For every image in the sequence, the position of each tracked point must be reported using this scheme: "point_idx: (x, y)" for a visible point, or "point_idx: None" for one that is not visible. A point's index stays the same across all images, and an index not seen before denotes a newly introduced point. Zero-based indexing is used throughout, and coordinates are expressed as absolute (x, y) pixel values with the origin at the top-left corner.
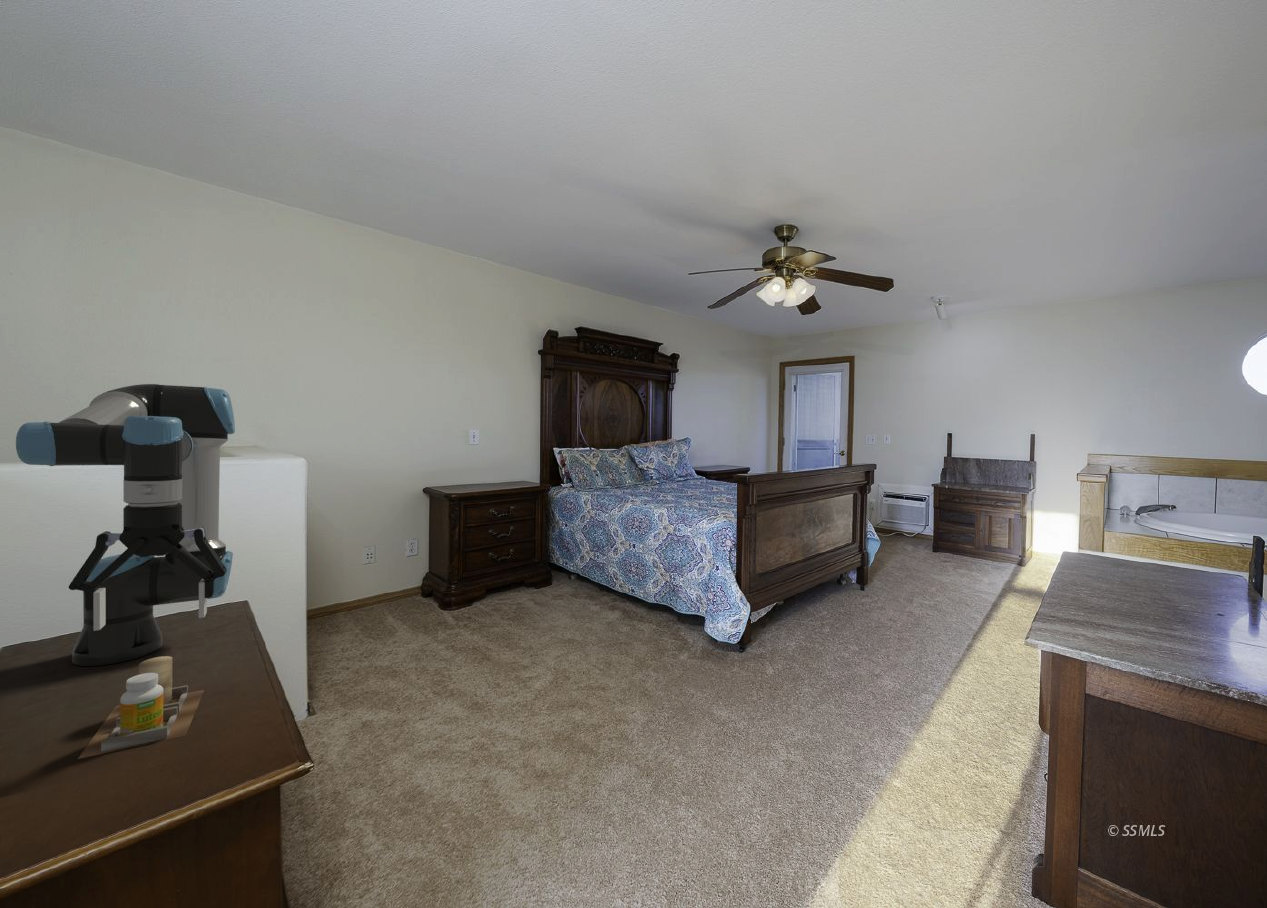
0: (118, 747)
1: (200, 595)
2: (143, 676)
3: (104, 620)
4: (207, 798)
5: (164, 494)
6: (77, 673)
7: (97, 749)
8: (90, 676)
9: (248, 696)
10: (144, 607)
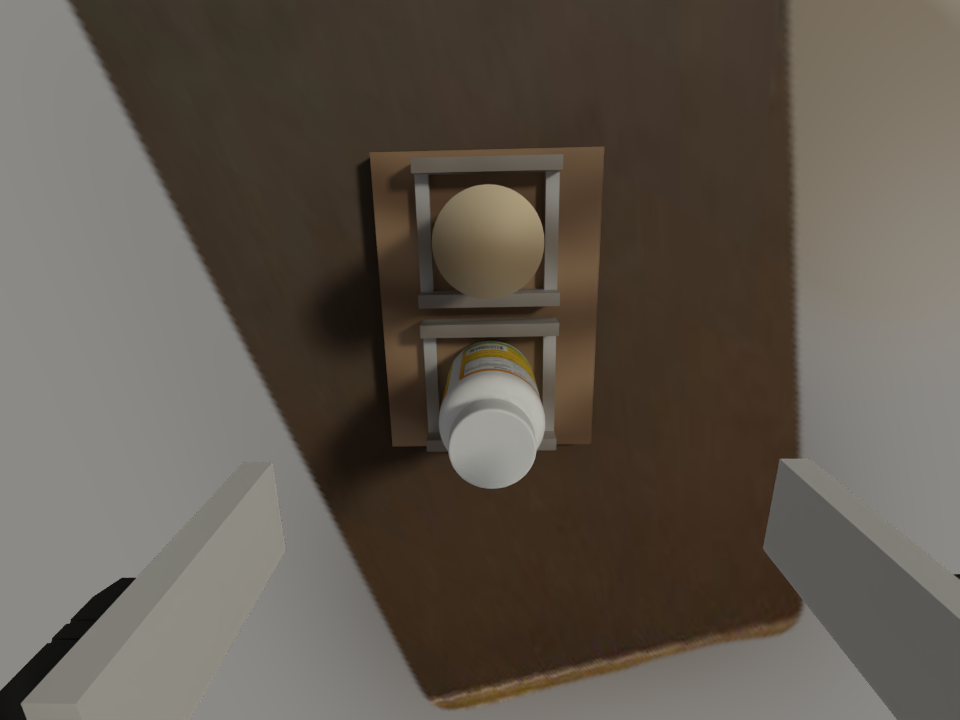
0: None
1: (890, 695)
2: (492, 440)
3: (260, 498)
4: (649, 653)
5: None
6: None
7: (417, 420)
8: None
9: (722, 224)
10: None
